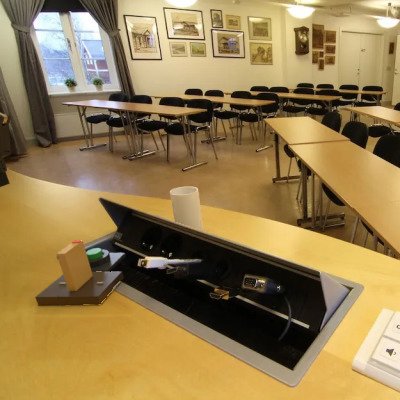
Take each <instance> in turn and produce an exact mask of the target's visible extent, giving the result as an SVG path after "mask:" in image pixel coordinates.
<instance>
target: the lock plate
mask: <svg viewBox="0 0 400 400" xmlns="http://www.w3.org/2000/svg"><path fill="white" fill-rule="evenodd" d="M92 275H93V276H92V277H91V278H90V279H89V280H88V281H87V282H86V283H85V284H83V285H82V286H81V287H80V288H79V289H78V290H77V291H69V290H68V287H67V284H66V281H65V278H64V275H63V274H62V275H61V276H59V277H58V278H57V279H55V280H54V281H53V282H52V283H51V284H49V285H48V286H47V287H46V288H44V289H43V290H42V291H41V292H40V293H38V294H37V295H36V296H34V298H35V300H36V304H37V306H39V307H51V306H52V307H54V306H55V307H56V306H57V307H58V306H61V307H62V306H64V307H65V305H70V306H84V305H83V304H101V302H102V301H103V300H104V299H105V298H106V297H107V295H108V294H109V293H110V292H111V291H112V289H113V287H114V286H115V285H116V284H117V283H118V282H119V281H121V280H123V279H124V280H125V278H124V274H123V271H111V272H92ZM124 280H123V281H124ZM101 305H102V304H101Z"/></svg>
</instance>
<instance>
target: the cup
mask: <svg viewBox="0 0 400 400" xmlns="http://www.w3.org/2000/svg"><path fill="white" fill-rule="evenodd" d="M169 196H170V202H171V208H172V214H173V220H174V223H175V222H178V223H181V224H184V225H187V226H190V227H193V228H197V229H200V230H203V231H204V232H205V229H204V222H203V216H202V208H201V200H200V193H199V188H198V187H196V186H190V185H188V186H180V187H179V186H178V187H175V188H172V189H171V190H169Z"/></svg>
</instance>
